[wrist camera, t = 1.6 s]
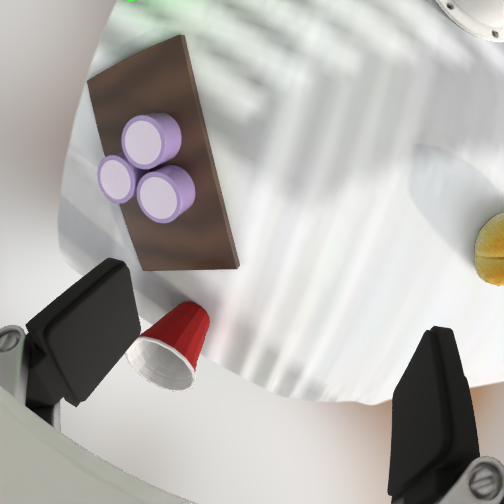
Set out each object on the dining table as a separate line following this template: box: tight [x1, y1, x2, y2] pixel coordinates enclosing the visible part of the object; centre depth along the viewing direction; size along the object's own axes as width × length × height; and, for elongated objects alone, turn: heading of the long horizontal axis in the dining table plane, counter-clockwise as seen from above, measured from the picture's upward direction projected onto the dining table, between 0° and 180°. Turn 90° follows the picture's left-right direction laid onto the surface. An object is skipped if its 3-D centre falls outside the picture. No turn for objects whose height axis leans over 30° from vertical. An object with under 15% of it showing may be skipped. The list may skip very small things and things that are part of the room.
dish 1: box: [122, 112, 181, 169], centre depth 34 cm, size 6×6×4 cm
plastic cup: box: [125, 302, 210, 392], centre depth 44 cm, size 11×11×12 cm
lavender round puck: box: [137, 165, 195, 223], centre depth 37 cm, size 6×6×4 cm
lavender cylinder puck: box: [97, 151, 150, 203], centre depth 37 cm, size 6×6×4 cm
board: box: [87, 35, 240, 271], centre depth 38 cm, size 30×16×1 cm, turn 13°
